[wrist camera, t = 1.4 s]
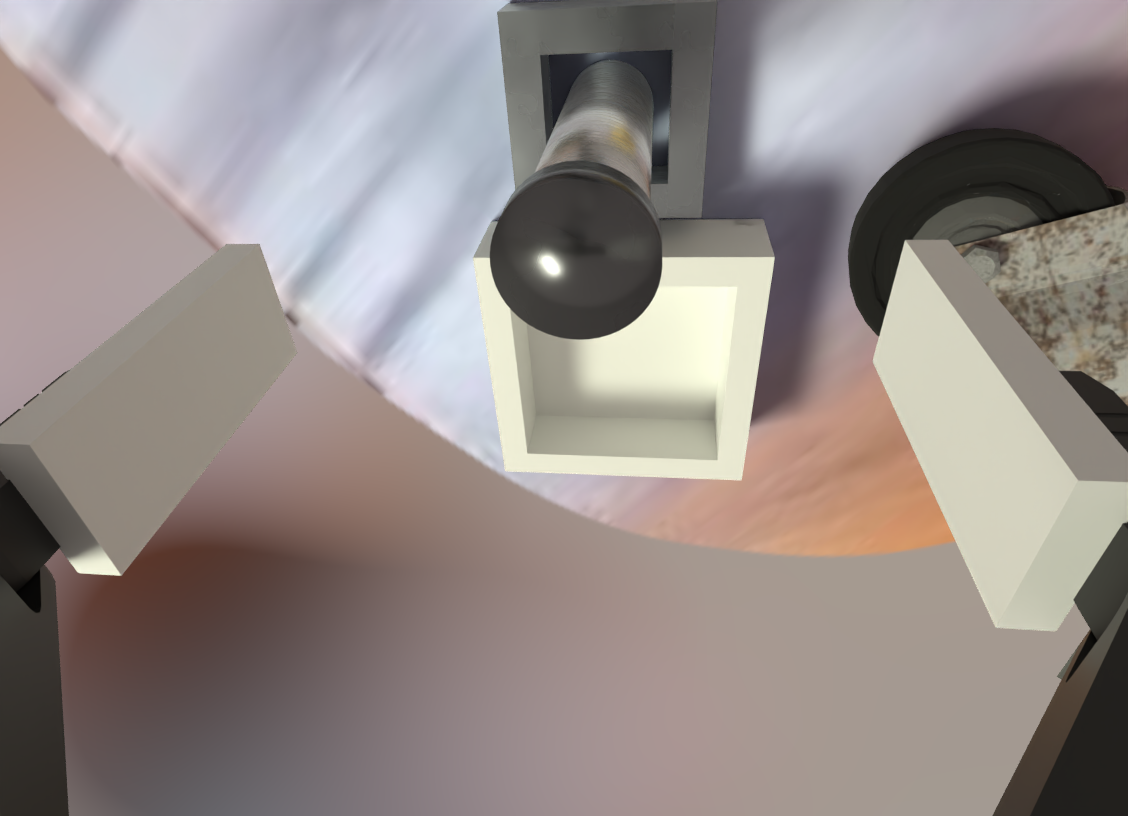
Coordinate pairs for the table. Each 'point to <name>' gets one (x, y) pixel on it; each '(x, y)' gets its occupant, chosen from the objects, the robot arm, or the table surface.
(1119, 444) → the robot arm
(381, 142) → the table surface
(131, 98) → the table surface
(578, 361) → the tray
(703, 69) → the pin socket
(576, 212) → the pin
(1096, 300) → the caster wheel
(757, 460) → the table surface
